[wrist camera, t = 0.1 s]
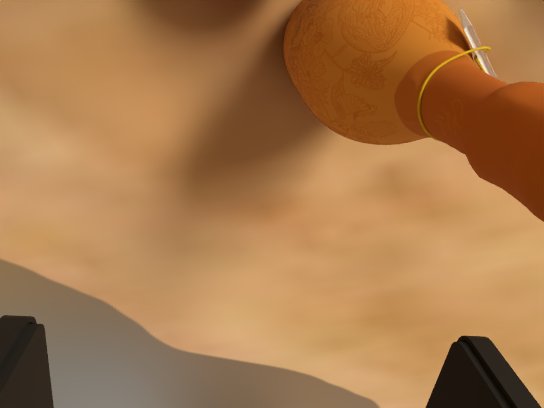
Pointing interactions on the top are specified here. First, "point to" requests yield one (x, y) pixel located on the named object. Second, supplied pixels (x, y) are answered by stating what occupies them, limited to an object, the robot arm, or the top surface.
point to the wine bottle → (417, 86)
